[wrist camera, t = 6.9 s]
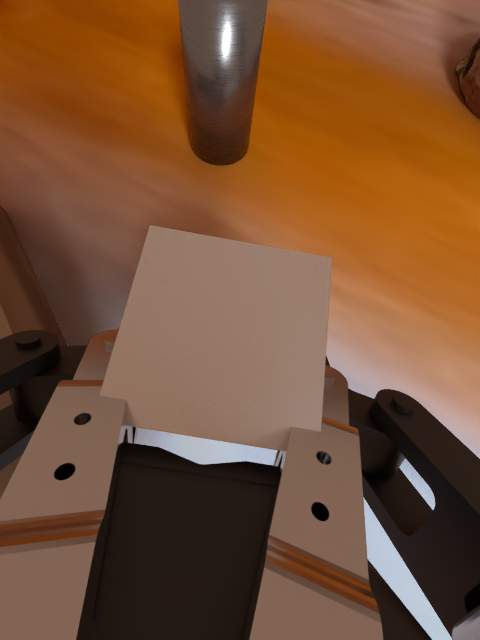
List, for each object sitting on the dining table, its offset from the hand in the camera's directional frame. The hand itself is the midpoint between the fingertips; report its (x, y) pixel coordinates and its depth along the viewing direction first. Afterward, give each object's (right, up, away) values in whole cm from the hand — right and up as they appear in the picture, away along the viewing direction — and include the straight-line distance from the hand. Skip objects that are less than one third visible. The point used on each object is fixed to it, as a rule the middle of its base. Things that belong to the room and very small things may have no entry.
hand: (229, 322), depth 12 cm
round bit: (-1, +12, +8) cm, 15 cm away
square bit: (-1, -3, +3) cm, 5 cm away
